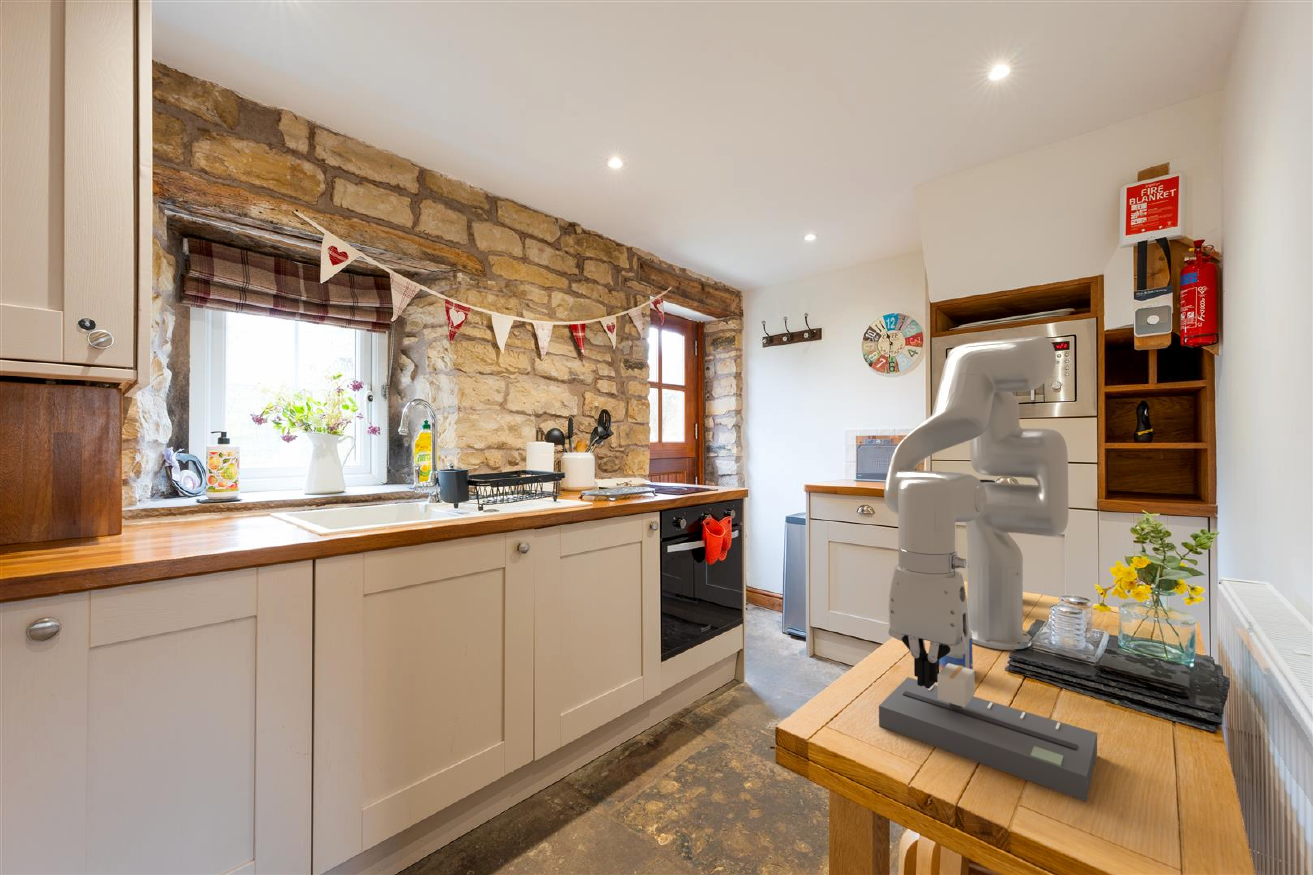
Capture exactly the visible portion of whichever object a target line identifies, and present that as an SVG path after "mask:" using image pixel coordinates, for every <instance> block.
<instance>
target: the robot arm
mask: <svg viewBox="0 0 1313 875" xmlns="http://www.w3.org/2000/svg"><path fill="white" fill-rule="evenodd" d="M1051 341H1052V340H1050V339H1049V338H1047V337H1045V336H1042V335H1036V336H1035V335H1034V336H1022V337H1016V338H1006V339H994V340H993V339H992V340H984V341H983V340H982V341H973V342H968V343H964V344H961V345H956V346H955V347H953V348H952V349H951V350H949V352H948V354H947V357H946V360H945V362H944V365H943V369H942V372H941V376H940V381H939V384H938V389H937V393H936V397H935V402H934V404H933V410H932V413H931V415H930V416H929V417H928V418H926V419H925V420H923V421H921V423H920V424H918V425H917V426H915V428H913V429H912V430H911V431H910V432H909V433H907V435H905V437H904V438H903V439H902V440H900V442H899V443H898V444H897V446H896V447H895V449H894V451H893V453H892V455H891V459H890V464H889V466H888V471H887V473H886V478H885V484H884V488H883V490H884V492H883V496H884V502H885V504H886V505H885V506H886V507H887V508H888V509H889V510H890V511H891V512H892V513H894V514H896V515H897V516H898V517H897V520H898V521H897V522H898V528H897V530H898V535H897V537H898V542H897V543H898V564H896V565H895V566H894V568H893V570H892V576H891V582H890V587H889V598H888V611H887V612H888V613H887V614H888V616H887V618H888V620H887V621H888V626H889V629H888V635H889V636H890V637H892V638H894V639H896V640H898V641H901V642H902V643H903V644H904V646H906V648H907V650H909V652H910V655H911V657H912V658H913V660H914V661H913V662H914V663H913V666H914V668H913V670H914V671H913V672H914V674H913V676H914V677H916V678H917V679H916V680H917V685H918V686H925V688H928V689H930V688H931V687H932V686H933V685H935V684H936V683H937V684H938V674H939V673H940V667H939V659H941V658H942V657H944V656H945V655H947V654H965V653H966V652H967V651H968V647H967V643H966V639H965V637H967V635H968V631H969V629H970V630H971V632H972V644H975V645H978V646H981V647H986V648H989V649H994V650H1003V651H1015V650H1014V648H1015V647H1017V646H1019V645H1020V643H1022V642H1029V639H1030V638H1032V636H1031V635H1030V634H1028V633H1027V632H1026V631H1024V630H1023V627H1024V626H1023V625H1024V620H1023V618H1024V617H1023V615H1024V614H1023V613H1024V610H1023V609H1024V605H1023V604H1024V599H1023V598H1024V597H1023V596H1024V592H1023V591H1024V588H1023V587H1024V585H1023V582H1024V581H1023V580H1024V558H1023V557H1024V556H1023V553H1022V550H1021V549H1020V546H1019V545H1018V544H1017V542H1016V541H1015V540H1014V538H1013V537H1012V536H1011V535H1010V534H1009V533H1012V534H1014V533H1019V534H1027V535H1037V536H1038V535H1039V536H1045V537H1046V536H1049V537H1055V536H1059V535H1061V534H1063V533H1064V532H1065V531H1066V529H1067V526H1068V521H1069V509H1070V508H1069V458H1068V456H1069V455H1068V447H1067V443H1066V440H1065V438H1064V436H1063V435H1062V434H1061V433H1060V432H1059V431H1057V430H1055V429H1049V428H1022V427H1021V426H1020V404H1019V401H1018V399H1017V397H1016V396H1015V395H1014V394H1013V393H1014V392H1016V393H1017V392H1029V391H1034V390H1037V389H1038V388H1040V387H1041V386H1042V385H1044V384H1045V383H1046V382H1047V381H1048V380H1049V379H1050V378H1051V377H1052V376H1053V373H1054V371H1055V367H1056V359H1057V358H1056V357H1057V356H1056V350H1055V347H1054V345H1053V343H1052V342H1051ZM966 442H969V455H970V456H969V459H970V464H971V468H972V469H973V471H975V472H976V473H977V474H980V475H984V476H989V477H990V476H991V477H1005V478H1008V477H1009V478H1021V479H1022V478H1027V479H1033V480H1034V481H1036V482H1037V484H1022V483H1020V484H1019V483H1013V482H1011V483H1010V482H996V481H995V482H984V483H982V482H981V481H980V480H981V479H979V478H978V477H977V476H974V475H972V474H969V473H963V472H951V471H936V470H935V471H934V470H933V471H932V470H918V469H917V467H918V466H919V464H921V463H922V462H923V461H924V460H925V459H927V458H928V457H930V456H932V455H934V454H936V453H938V452H942V451H943V450H946V449H950V448H952V447H955V446H958V445H961V444H964V443H966ZM916 469H917V470H916ZM956 523H964V524H965V530H966V542H967V545H966V547H967V559H966V558H963V557H962V558H961V557H960V556H959V555H958V552H957V551H956ZM958 569H967V584H966V585H967V588H966V586H965V580H964V577H963V573H961V572H960V571H956V570H958ZM966 590H967V593H966ZM925 641H927V642H929V649H928V652H927V650H926V645H925V644H926V643H925Z"/></svg>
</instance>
